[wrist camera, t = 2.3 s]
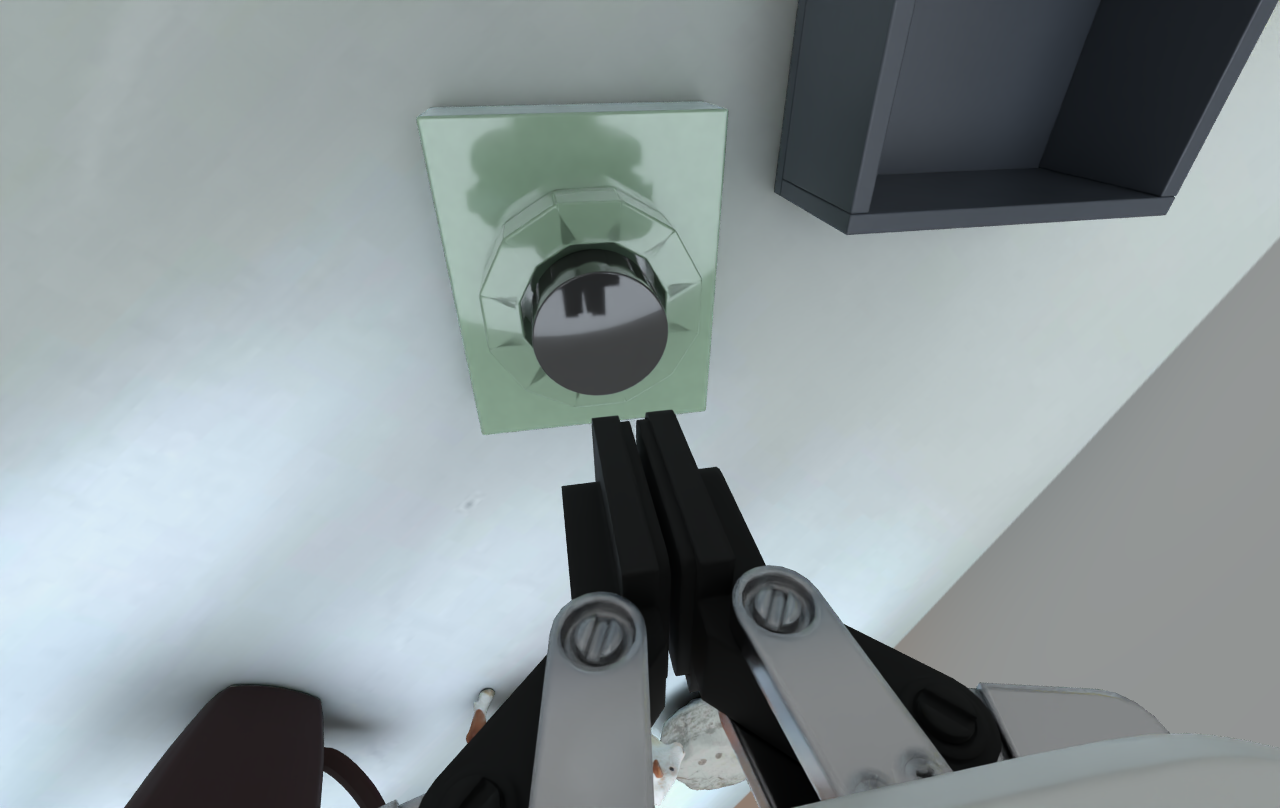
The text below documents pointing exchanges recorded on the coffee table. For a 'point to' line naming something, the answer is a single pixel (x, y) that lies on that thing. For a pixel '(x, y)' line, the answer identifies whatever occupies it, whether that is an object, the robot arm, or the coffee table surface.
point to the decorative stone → (702, 747)
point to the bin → (1003, 107)
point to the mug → (252, 756)
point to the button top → (597, 323)
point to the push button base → (576, 238)
